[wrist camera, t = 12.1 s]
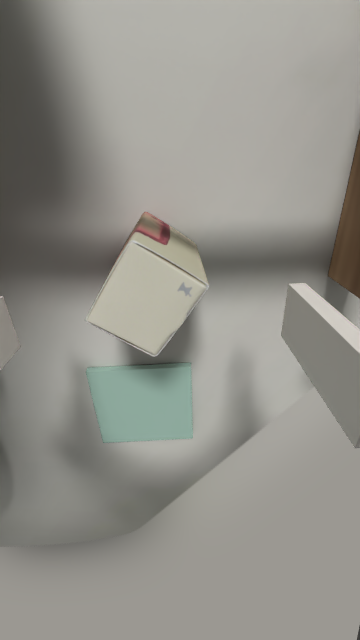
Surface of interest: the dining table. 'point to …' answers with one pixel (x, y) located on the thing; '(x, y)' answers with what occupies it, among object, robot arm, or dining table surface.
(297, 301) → the robot arm
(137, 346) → the small box
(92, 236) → the dining table surface
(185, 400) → the pad
